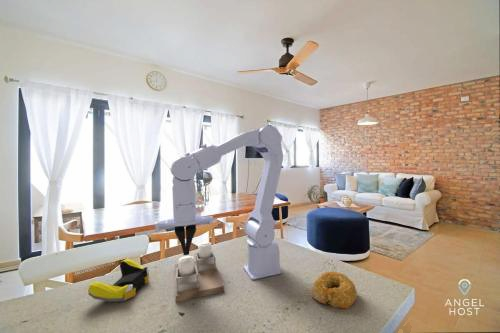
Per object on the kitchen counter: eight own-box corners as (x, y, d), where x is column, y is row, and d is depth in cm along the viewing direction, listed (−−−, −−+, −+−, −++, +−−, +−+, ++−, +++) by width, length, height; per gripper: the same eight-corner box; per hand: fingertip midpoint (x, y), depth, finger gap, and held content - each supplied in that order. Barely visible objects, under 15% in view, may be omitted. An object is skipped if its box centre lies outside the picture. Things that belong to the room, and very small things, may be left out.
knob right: (210, 253, 71) (210, 241, 70) (212, 258, 67) (212, 245, 67) (197, 255, 69) (197, 243, 69) (199, 261, 65) (199, 247, 65)
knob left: (193, 268, 61) (193, 254, 61) (195, 275, 57) (194, 260, 57) (178, 271, 60) (178, 257, 60) (179, 279, 56) (178, 263, 56)
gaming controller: (84, 308, 52) (123, 310, 51) (82, 286, 52) (122, 287, 51) (125, 274, 67) (156, 275, 66) (124, 257, 67) (155, 257, 66)
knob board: (212, 262, 73) (212, 247, 73) (223, 291, 57) (223, 272, 57) (175, 269, 69) (174, 253, 69) (175, 302, 53) (175, 282, 53)
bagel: (303, 287, 59) (304, 270, 58) (340, 283, 61) (341, 266, 60) (323, 314, 49) (323, 293, 49) (366, 307, 51) (367, 287, 51)
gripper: (209, 198, 64) (210, 243, 64) (155, 202, 59) (157, 251, 60) (213, 202, 57) (215, 253, 58) (153, 208, 52) (155, 263, 53)
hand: (186, 253), depth 58 cm, fingers closed
